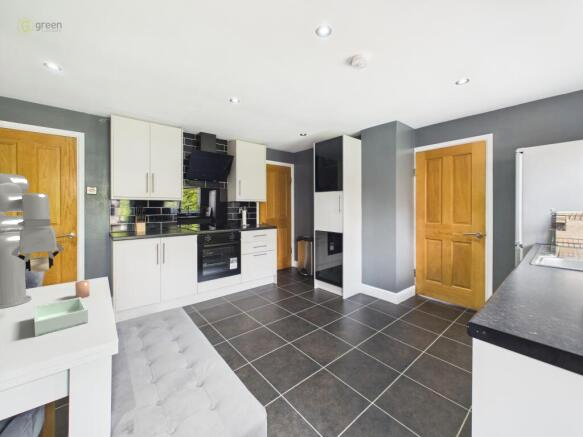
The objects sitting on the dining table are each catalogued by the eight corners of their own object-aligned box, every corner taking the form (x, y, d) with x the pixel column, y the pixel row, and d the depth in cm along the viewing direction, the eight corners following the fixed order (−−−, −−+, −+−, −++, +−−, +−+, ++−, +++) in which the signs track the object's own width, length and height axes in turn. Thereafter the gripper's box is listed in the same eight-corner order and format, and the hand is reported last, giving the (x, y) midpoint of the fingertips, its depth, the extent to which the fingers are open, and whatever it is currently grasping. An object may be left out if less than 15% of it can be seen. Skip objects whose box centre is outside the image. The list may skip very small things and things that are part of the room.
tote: (34, 319, 93) (34, 306, 93) (81, 308, 103) (80, 297, 102) (35, 336, 81) (34, 322, 81) (87, 322, 91) (87, 309, 91)
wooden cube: (31, 272, 94) (30, 260, 94) (31, 270, 98) (30, 258, 97) (49, 270, 98) (48, 258, 98) (48, 268, 101) (47, 256, 101)
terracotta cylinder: (73, 297, 114) (72, 283, 114) (84, 294, 119) (83, 280, 119) (81, 298, 113) (80, 284, 113) (92, 295, 118) (91, 280, 118)
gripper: (3, 226, 88) (6, 275, 89) (67, 223, 101) (69, 266, 101) (5, 225, 93) (8, 272, 94) (65, 222, 106) (67, 264, 107)
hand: (40, 268), depth 98 cm, fingers closed on wooden cube, 4 cm apart
